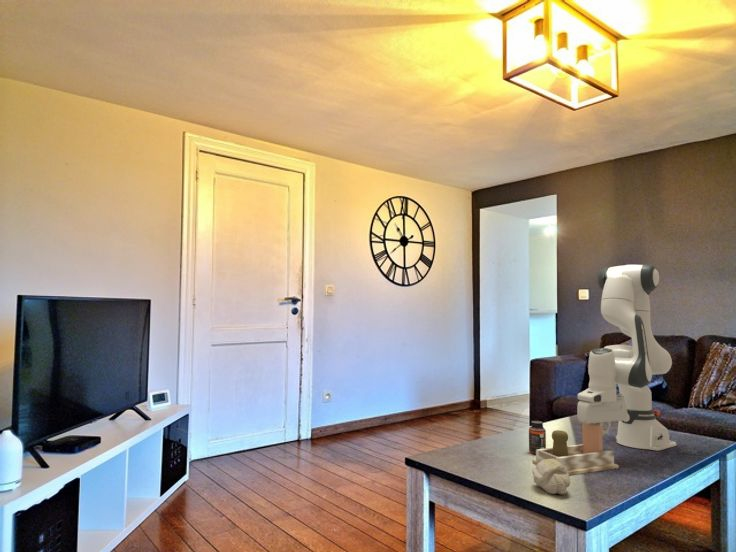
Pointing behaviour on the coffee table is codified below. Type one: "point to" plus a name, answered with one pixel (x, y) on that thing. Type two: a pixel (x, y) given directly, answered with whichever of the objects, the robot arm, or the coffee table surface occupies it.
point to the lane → (579, 459)
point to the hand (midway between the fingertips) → (603, 434)
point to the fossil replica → (551, 476)
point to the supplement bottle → (537, 437)
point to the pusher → (592, 438)
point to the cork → (560, 443)
